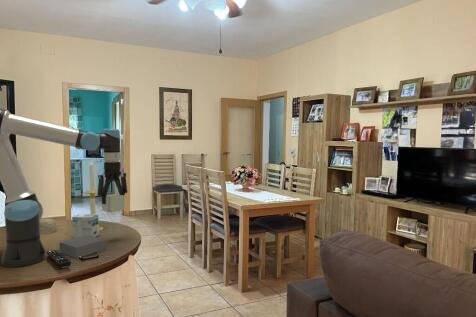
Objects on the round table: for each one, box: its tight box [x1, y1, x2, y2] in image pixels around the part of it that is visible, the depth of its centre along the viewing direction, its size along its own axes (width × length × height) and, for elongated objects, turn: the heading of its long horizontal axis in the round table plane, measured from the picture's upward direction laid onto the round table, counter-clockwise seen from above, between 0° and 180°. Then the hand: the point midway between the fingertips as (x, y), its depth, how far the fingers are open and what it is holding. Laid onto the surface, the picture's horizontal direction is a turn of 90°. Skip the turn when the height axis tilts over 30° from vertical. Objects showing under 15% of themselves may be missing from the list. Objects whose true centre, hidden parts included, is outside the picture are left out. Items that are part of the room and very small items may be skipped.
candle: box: [83, 160, 104, 232], centre depth 186 cm, size 10×10×38 cm
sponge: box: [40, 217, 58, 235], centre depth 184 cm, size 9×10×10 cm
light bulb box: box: [71, 213, 100, 239], centre depth 175 cm, size 11×7×11 cm, turn 84°
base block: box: [58, 235, 106, 259], centre depth 152 cm, size 13×13×5 cm
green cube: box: [101, 193, 125, 213], centre depth 167 cm, size 7×7×7 cm
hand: (113, 209), depth 167 cm, fingers closed on green cube, 7 cm apart
